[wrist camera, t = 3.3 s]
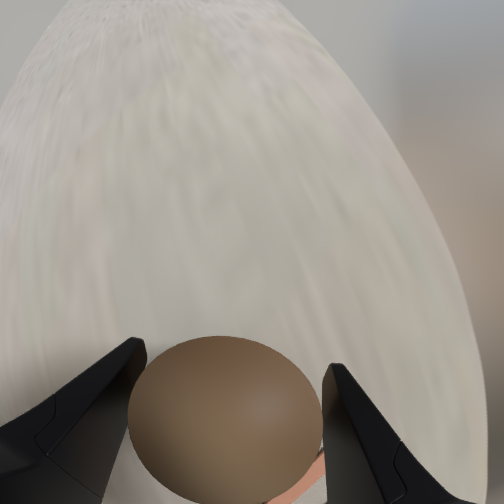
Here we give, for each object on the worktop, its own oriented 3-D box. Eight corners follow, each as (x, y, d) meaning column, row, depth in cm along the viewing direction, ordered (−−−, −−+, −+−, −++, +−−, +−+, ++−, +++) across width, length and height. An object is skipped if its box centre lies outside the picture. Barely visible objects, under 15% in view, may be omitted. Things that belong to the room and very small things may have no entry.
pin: (240, 423, 15) (233, 532, 4) (184, 375, 16) (94, 421, 5) (290, 371, 16) (361, 416, 5) (234, 323, 17) (214, 294, 6)
